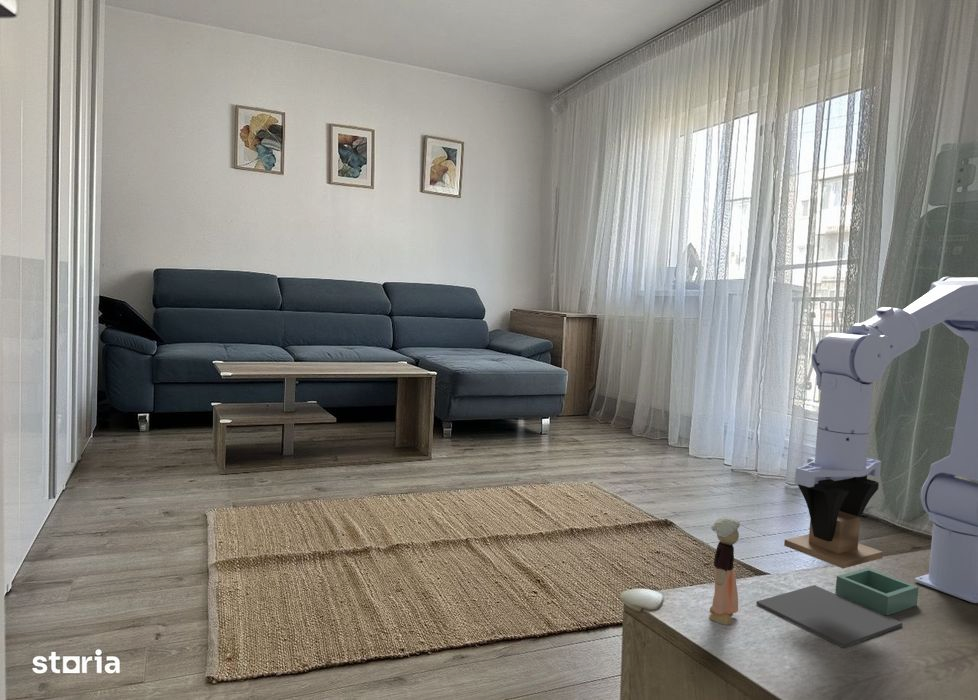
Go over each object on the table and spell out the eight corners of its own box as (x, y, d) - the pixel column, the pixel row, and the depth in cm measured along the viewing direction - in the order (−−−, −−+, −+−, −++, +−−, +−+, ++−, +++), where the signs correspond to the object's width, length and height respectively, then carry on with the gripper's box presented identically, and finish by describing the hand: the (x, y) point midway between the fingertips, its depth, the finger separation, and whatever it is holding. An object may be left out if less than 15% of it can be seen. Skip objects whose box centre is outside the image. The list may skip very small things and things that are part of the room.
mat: (814, 587, 94) (814, 585, 94) (902, 626, 84) (902, 622, 84) (756, 604, 88) (756, 601, 88) (843, 647, 78) (843, 644, 78)
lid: (822, 536, 91) (825, 501, 90) (882, 558, 84) (885, 520, 83) (784, 545, 87) (786, 509, 86) (843, 568, 80) (846, 529, 80)
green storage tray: (865, 584, 96) (866, 567, 96) (916, 605, 90) (918, 586, 90) (835, 593, 92) (836, 576, 92) (886, 615, 86) (888, 596, 86)
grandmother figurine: (742, 631, 81) (750, 527, 80) (709, 626, 82) (716, 524, 81) (733, 603, 88) (739, 508, 87) (702, 599, 89) (708, 505, 88)
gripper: (847, 420, 91) (839, 518, 92) (776, 427, 84) (768, 533, 85) (900, 430, 85) (891, 535, 86) (829, 438, 78) (820, 553, 79)
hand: (833, 536), depth 85 cm, fingers closed on lid, 4 cm apart
